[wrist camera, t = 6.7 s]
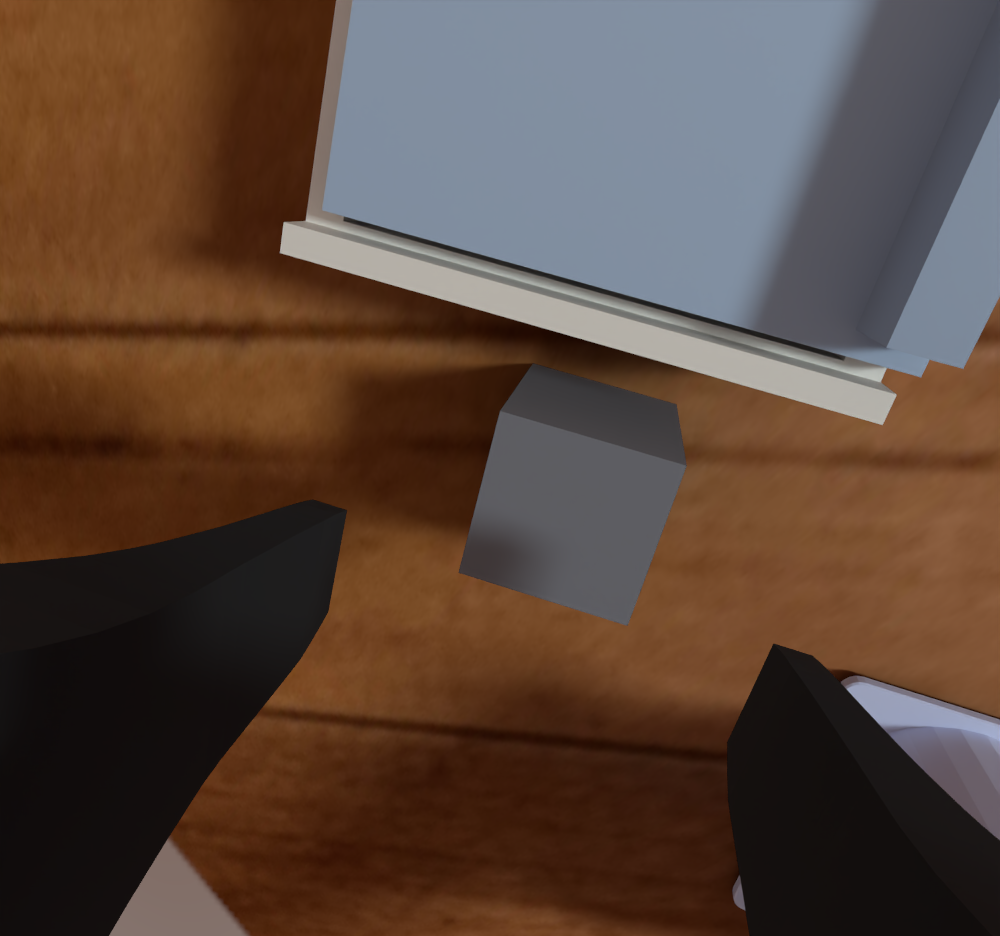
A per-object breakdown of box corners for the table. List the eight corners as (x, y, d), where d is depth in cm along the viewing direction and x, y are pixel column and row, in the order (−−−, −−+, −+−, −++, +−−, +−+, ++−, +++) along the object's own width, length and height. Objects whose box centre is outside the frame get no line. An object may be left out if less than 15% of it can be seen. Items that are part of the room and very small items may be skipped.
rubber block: (630, 533, 21) (627, 625, 16) (498, 492, 21) (458, 572, 17) (676, 404, 20) (686, 465, 15) (533, 363, 20) (499, 411, 15)
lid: (909, 370, 14) (961, 402, 12) (333, 210, 15) (279, 211, 13) (1151, -141, 11) (1283, -231, 9) (411, -301, 12) (357, -419, 10)
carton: (818, 364, 19) (882, 424, 14) (372, 240, 20) (279, 252, 15) (1016, -104, 15) (1205, -259, 10) (454, -229, 16) (366, -429, 11)
